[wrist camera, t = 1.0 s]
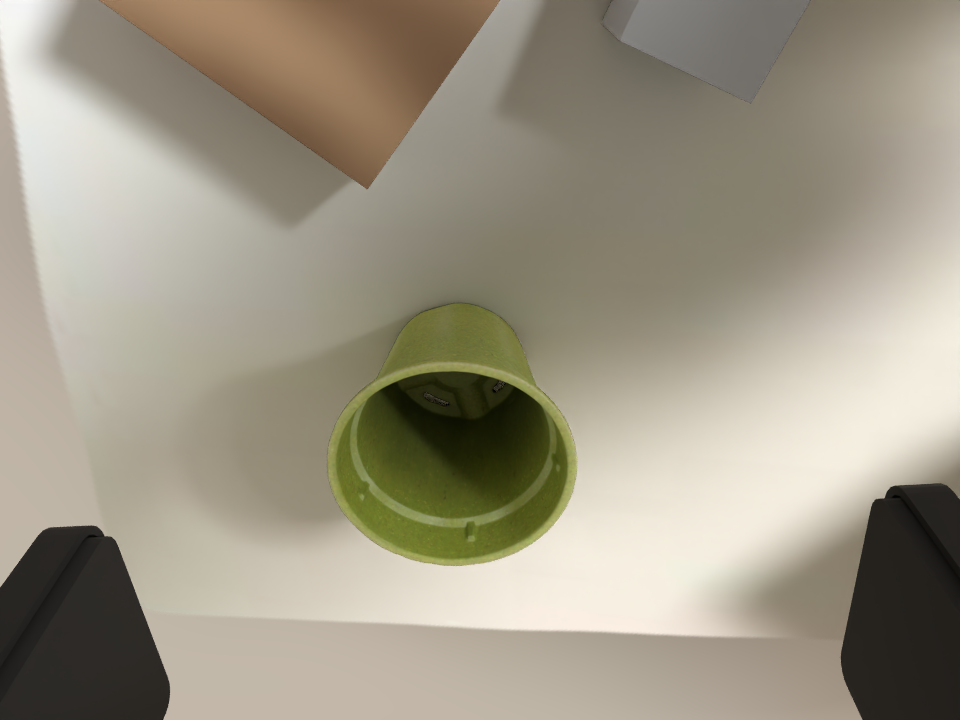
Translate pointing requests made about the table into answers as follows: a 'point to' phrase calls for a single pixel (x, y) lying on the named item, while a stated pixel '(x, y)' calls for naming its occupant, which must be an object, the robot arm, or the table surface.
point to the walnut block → (322, 63)
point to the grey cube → (709, 36)
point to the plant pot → (453, 445)
